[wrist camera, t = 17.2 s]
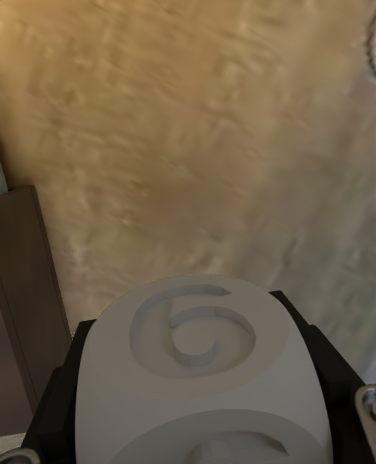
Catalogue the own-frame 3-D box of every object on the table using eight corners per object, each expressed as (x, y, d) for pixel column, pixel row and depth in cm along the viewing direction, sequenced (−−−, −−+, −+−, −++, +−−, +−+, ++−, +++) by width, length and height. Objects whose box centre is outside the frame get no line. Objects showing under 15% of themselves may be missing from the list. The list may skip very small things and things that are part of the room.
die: (127, 403, 11) (108, 600, 6) (101, 284, 10) (51, 431, 5) (258, 381, 12) (329, 553, 7) (254, 263, 10) (345, 380, 5)
